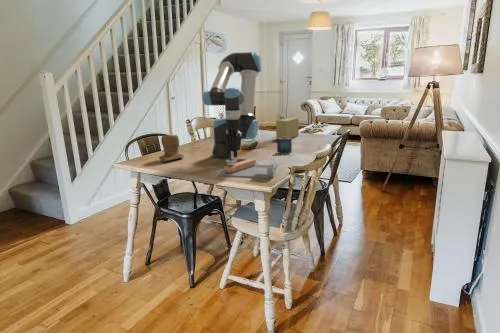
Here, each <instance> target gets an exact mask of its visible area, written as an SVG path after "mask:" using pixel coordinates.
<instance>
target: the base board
mask: <svg viewBox="0 0 500 333" xmlns="http://www.w3.org/2000/svg"><path fill="white" fill-rule="evenodd" d="M238 162H239V161H237V163H238ZM233 164H235V163H233ZM279 166H280V164H279V163H275V170H277V168H278V167H279ZM217 176H218V177H233V178H252V179H265V180H267V179H270V178H271V177H270V176H267V168H256V167H255V165H254V166H251V167H248V168H245V169H242V170H239V171H236V172H234V173H226V172H225V168H224V169H222V170H221V171H220V172H219V173H217Z"/></svg>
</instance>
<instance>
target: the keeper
mask: <svg viewBox="0 0 500 333" xmlns="http://www.w3.org/2000/svg"><path fill="white" fill-rule="evenodd" d="M275 164H276V161H275V160H260V159H259V160H258V161H256V164H255V167H256V168H267V176H270V178H274V177H275V175H276V169H275Z"/></svg>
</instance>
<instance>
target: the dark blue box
mask: <svg viewBox="0 0 500 333" xmlns="http://www.w3.org/2000/svg"><path fill="white" fill-rule="evenodd" d="M292 141H293V138H286V136H284V137H283V138H278V139H276V146H277V147H276V148H277V149H276V152H278V153H277V154H283V153H284V154H287V153H289V154H290V153H292V152H293V150H292V149H293V148H292V144H293V142H292Z"/></svg>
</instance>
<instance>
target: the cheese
mask: <svg viewBox="0 0 500 333" xmlns="http://www.w3.org/2000/svg"><path fill="white" fill-rule="evenodd" d="M299 127H300V125H299V117H298V116H295V117H291V118H287V119H277V120H276V121H275V136H276V137H275V138H276V140H277V139H278V138H283V137H284V136H286V138H292V139H293V138H296V137H299V133H300V131H299V130H300V128H299Z"/></svg>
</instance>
